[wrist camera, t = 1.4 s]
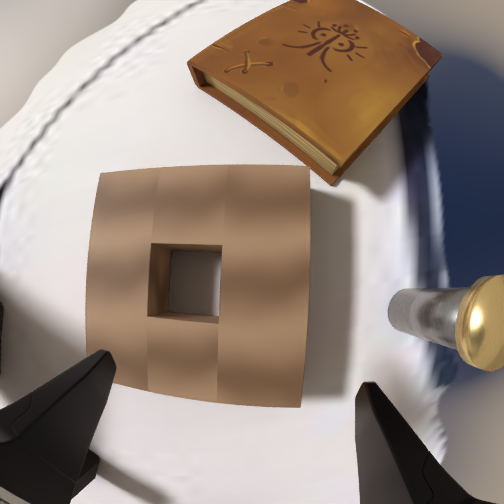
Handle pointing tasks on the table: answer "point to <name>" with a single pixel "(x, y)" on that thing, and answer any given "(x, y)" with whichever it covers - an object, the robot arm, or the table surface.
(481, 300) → the pin
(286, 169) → the socket block
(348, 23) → the diary
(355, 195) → the table surface
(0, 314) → the flower pot
